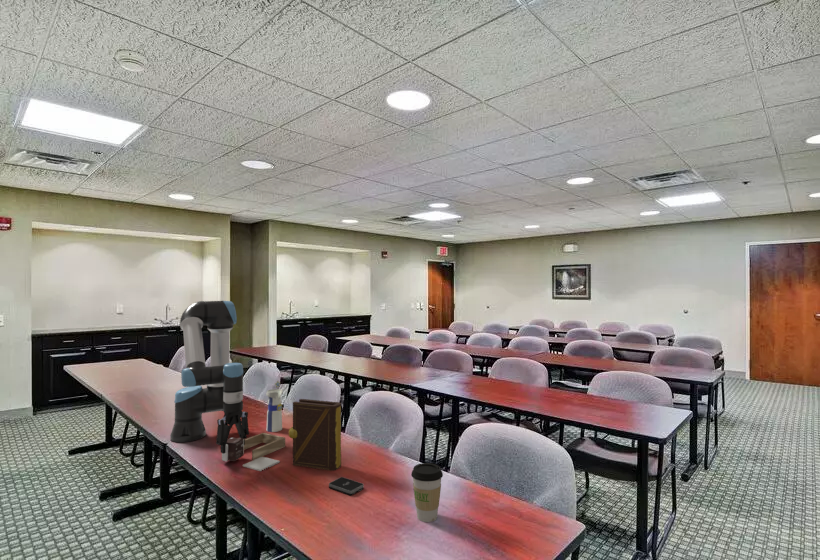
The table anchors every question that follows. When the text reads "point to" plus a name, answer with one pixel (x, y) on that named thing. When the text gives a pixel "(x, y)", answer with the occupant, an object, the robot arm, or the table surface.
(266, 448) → the wooden frame
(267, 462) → the tile
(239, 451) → the box
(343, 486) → the external hard drive
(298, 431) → the book
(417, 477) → the coffee cup
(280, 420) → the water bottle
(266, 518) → the table surface
